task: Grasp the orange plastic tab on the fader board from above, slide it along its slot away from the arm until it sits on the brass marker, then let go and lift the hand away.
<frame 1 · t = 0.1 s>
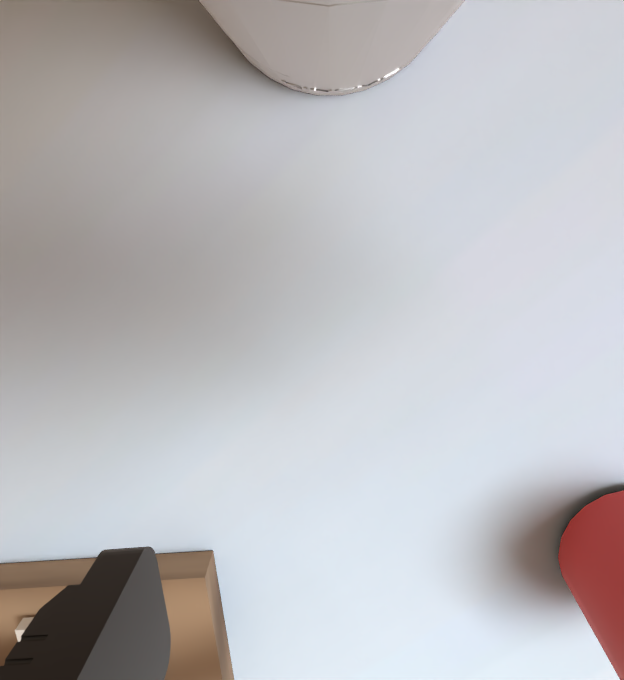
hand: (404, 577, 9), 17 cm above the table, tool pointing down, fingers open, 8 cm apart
beer can: (620, 540, 29), on the table
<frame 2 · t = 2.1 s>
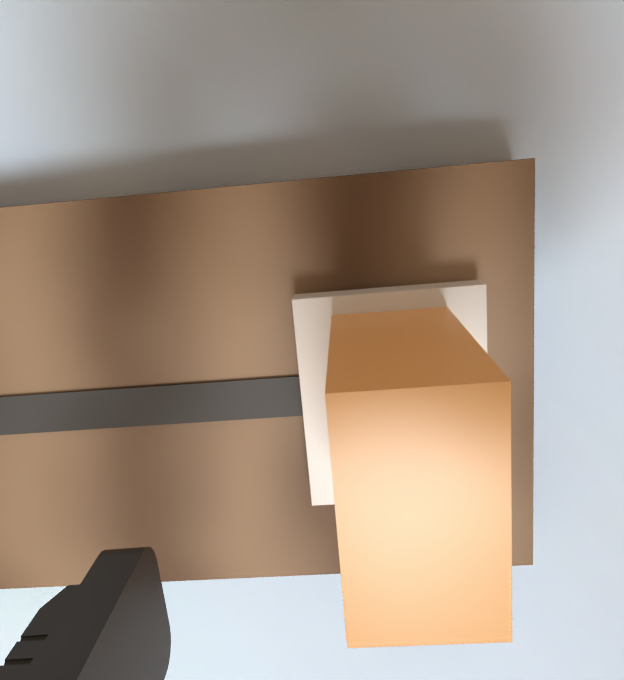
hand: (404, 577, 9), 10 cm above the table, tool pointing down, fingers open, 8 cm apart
fader tab: (403, 441, 14), point 6 cm above the table, slide at 0.0 cm
fader board: (171, 383, 19), on the table
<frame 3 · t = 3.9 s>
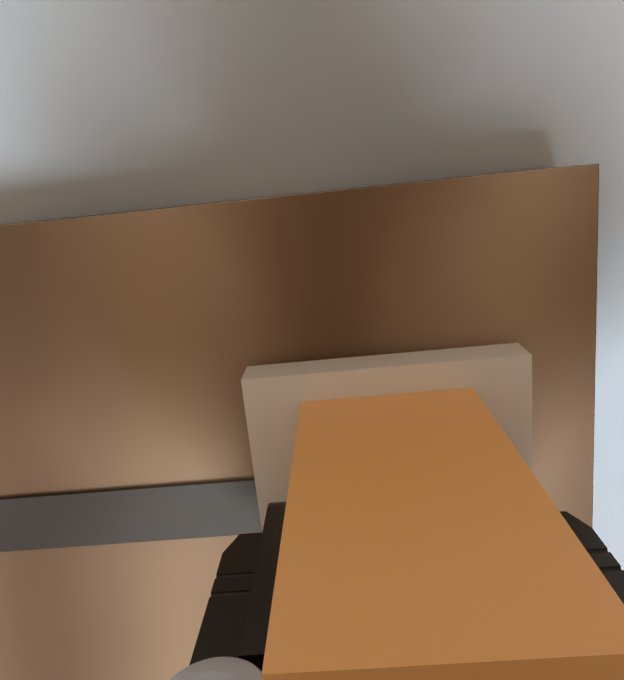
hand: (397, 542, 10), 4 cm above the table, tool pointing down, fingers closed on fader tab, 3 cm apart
fader tab: (414, 622, 8), point 6 cm above the table, slide at 0.0 cm, touching gripper
fader board: (89, 474, 14), on the table
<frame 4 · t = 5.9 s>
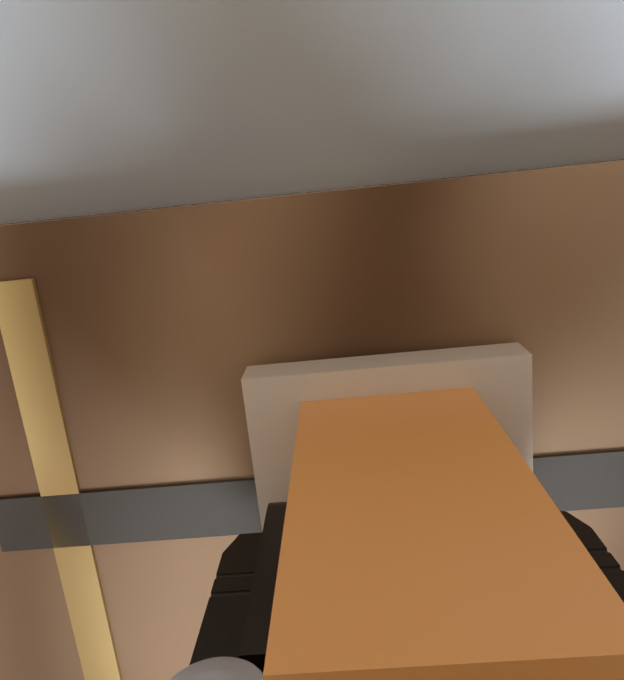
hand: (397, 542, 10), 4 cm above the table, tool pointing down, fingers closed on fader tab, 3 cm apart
fader tab: (415, 622, 8), point 6 cm above the table, slide at 7.3 cm, touching gripper
fader board: (396, 449, 14), on the table
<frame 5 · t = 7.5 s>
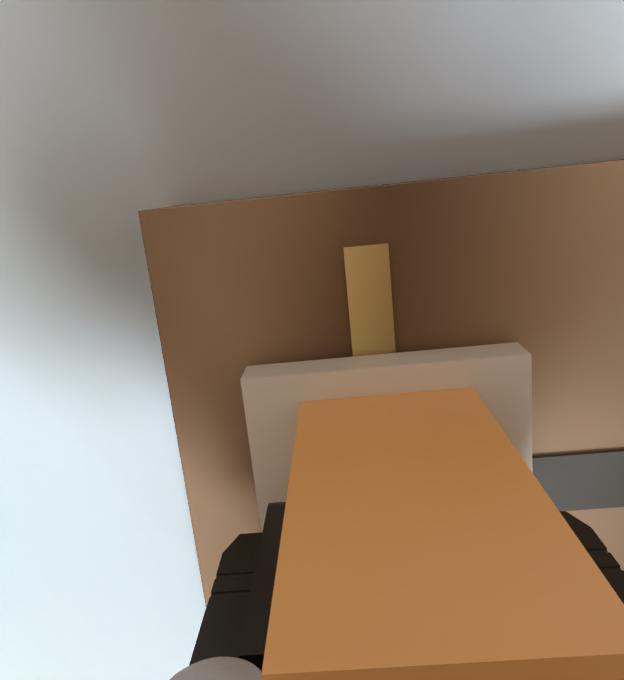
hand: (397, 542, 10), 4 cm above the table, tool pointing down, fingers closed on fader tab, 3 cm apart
fader tab: (414, 622, 8), point 6 cm above the table, slide at 13.9 cm, touching gripper
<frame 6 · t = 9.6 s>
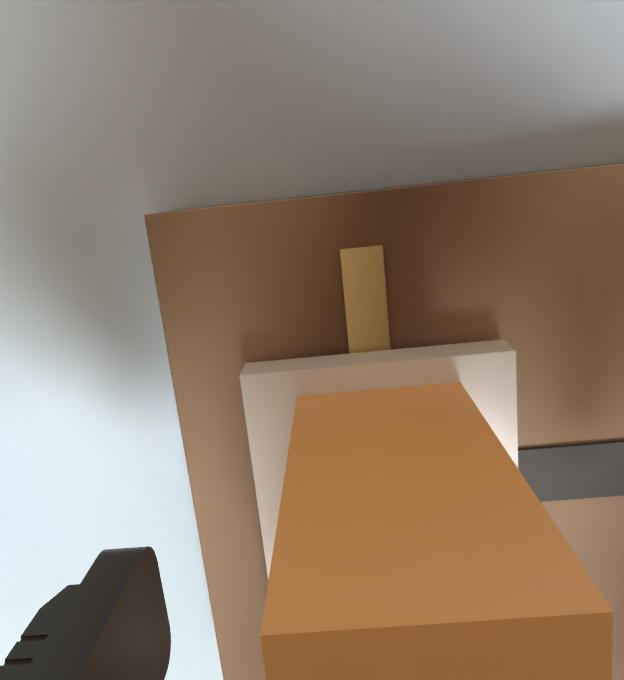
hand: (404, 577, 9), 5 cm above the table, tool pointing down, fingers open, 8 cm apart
fader tab: (404, 602, 9), point 6 cm above the table, slide at 13.9 cm
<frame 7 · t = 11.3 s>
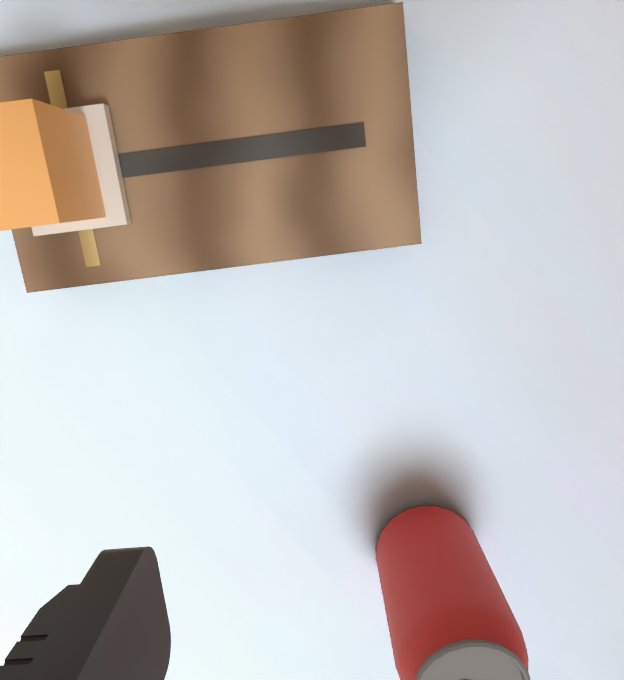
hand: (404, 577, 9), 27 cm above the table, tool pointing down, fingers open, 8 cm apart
fader tab: (45, 169, 28), point 6 cm above the table, slide at 13.9 cm
fader board: (210, 157, 33), on the table
beer can: (423, 543, 40), on the table
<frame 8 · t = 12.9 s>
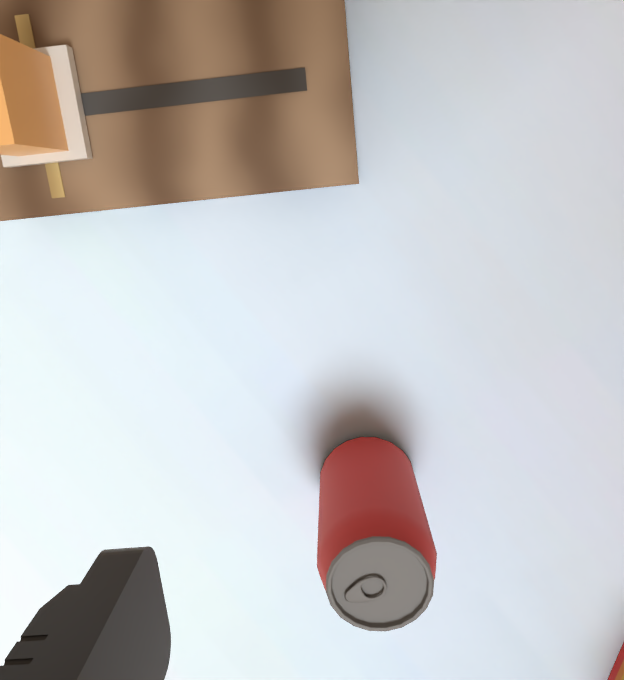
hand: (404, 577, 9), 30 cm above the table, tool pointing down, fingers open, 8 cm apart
fader tab: (9, 101, 31), point 6 cm above the table, slide at 13.9 cm
fader board: (168, 100, 36), on the table
beer can: (366, 474, 42), on the table
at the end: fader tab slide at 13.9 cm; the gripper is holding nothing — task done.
